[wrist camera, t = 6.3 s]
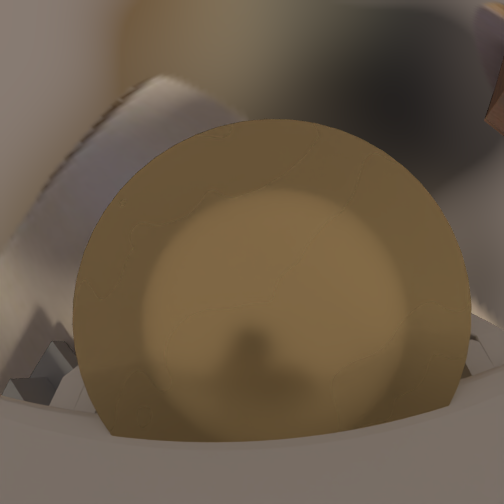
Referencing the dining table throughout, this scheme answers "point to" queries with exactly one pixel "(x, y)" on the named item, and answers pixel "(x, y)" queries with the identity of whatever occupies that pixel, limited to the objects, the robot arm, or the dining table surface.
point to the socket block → (44, 376)
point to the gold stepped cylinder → (270, 291)
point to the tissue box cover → (497, 105)
